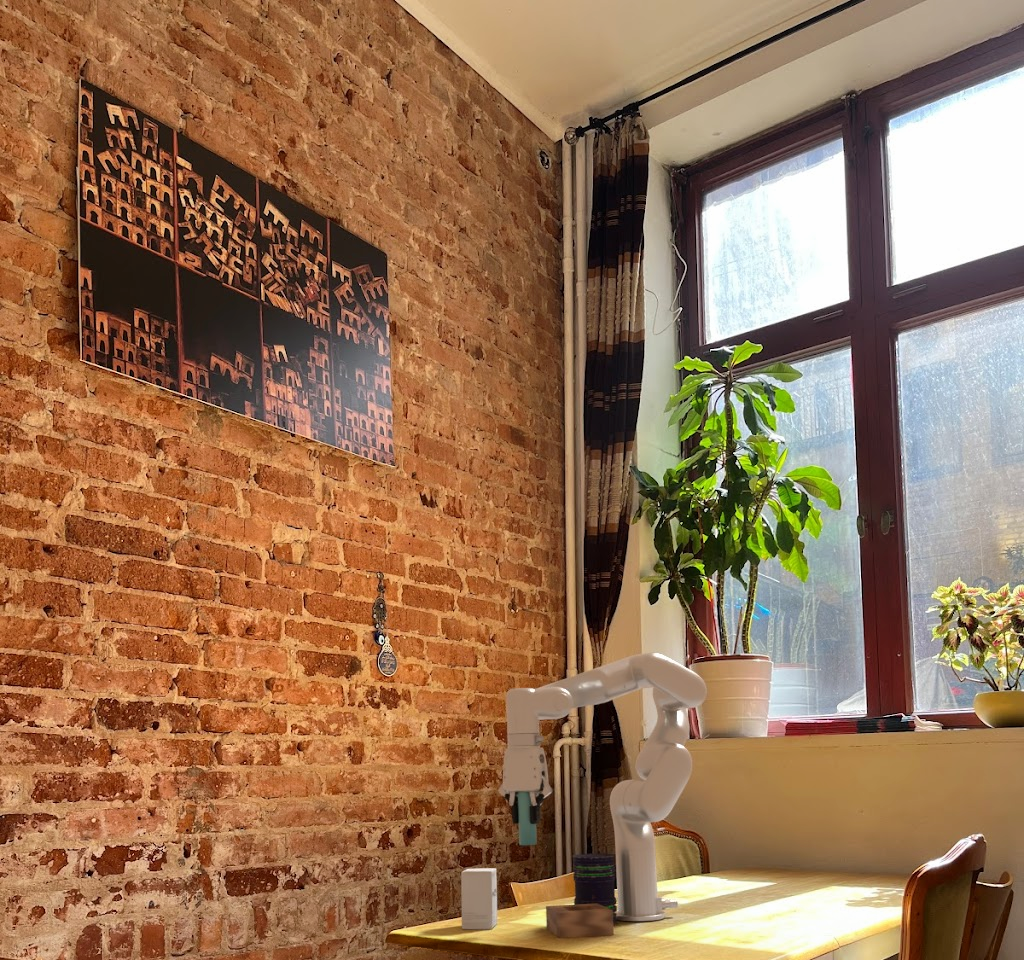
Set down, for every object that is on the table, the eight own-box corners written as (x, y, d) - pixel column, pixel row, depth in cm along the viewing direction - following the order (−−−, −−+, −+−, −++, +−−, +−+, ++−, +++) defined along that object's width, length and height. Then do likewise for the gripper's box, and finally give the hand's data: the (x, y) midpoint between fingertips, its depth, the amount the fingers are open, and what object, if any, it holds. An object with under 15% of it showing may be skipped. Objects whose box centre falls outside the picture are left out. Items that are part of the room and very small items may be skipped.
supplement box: (492, 929, 256) (491, 871, 259) (460, 929, 257) (460, 871, 260) (498, 924, 263) (497, 867, 266) (467, 924, 264) (466, 867, 267)
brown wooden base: (598, 926, 256) (597, 903, 257) (613, 934, 245) (612, 910, 246) (546, 929, 253) (546, 906, 255) (560, 938, 242) (559, 913, 243)
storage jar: (574, 926, 257) (572, 858, 260) (574, 920, 266) (572, 854, 270) (618, 926, 256) (615, 857, 260) (616, 919, 266) (613, 853, 269)
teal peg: (534, 843, 261) (532, 780, 264) (538, 844, 258) (536, 781, 261) (517, 844, 260) (515, 781, 264) (521, 845, 257) (519, 782, 260)
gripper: (562, 740, 263) (565, 822, 258) (501, 742, 271) (504, 821, 267) (546, 741, 256) (549, 825, 252) (484, 743, 265) (486, 824, 261)
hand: (526, 822), depth 260 cm, fingers closed on teal peg, 4 cm apart
